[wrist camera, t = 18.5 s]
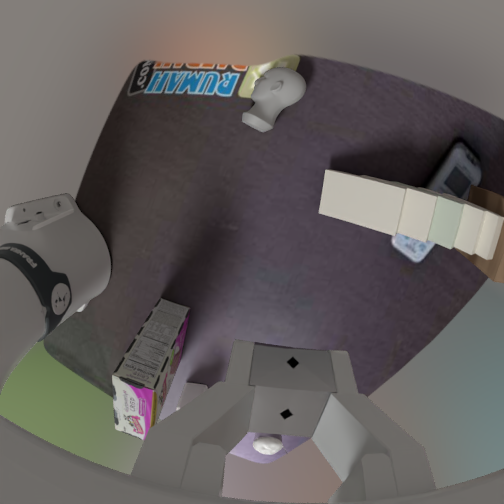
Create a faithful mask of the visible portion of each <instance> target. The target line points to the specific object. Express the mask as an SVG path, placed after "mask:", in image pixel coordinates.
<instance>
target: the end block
mask: <svg viewBox="0 0 504 504" xmlns="http://www.w3.org/2000/svg"><path fill="white" fill-rule="evenodd" d="M468 202H470V203H473V204H475V205H478V206H480V207H482V208H485V209H487V210H489V211H491V212H494V213H496V214H498V215H500V216H503V217H504V196H502V195H499V194H497V193H494V192H492V191H489V190H486V189H483V188H480V187H477V186H474V185H471V188H470V193H469V197H468ZM455 249H456V250H457V251H459V252H460V253H461V254H462V255H463V256H465V257H466V258H467V259H468V260H469V261H471V262H472V263H473V264H474V265H475V266H476V267H478V268H479V269H480V270H481V271H482V272H483V273H485V274H486V275H487V276H488V277H489V278H490V279H491V280H493V281H494V282H500V283H504V221H503V225H502V228H501V232H500V236H499V239H498V242H497V246H496V249H495V252H494V255H493V258H492V259H490V260H486V259H484V258H482V257H481V256H479V255H477V254H473V255H470V254H468V253H466V252H464V251H462V250H459V249H457V248H455Z"/></svg>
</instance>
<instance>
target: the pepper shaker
mask: <svg viewBox="0 0 504 504" xmlns="http://www.w3.org/2000/svg"><path fill="white" fill-rule="evenodd" d="M207 389H208V387H207V385H204V384H196V383H186V384H185V385H184V388H183V391H182V394H181V397H180V399H179V402H178V405H177V408H176V410H179V409H180V408H182V407H183V406H184V405H186V404H187V403H189V402H190V401H192V400H193V399H195V398H196V397H197V396H199V395H200V394H202V393H203V392H205V391H206V390H207Z"/></svg>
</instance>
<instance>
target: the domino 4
mask: <svg viewBox="0 0 504 504" xmlns="http://www.w3.org/2000/svg"><path fill="white" fill-rule="evenodd" d="M418 188H419V189H422V190H425V191H429V192H432V193H435V194H438V195H441V196H444V197H447V198H450V199H452V200H455V201H458V202H461V203H464V204H465V206H464V210H463V215H462V219H461V223H460V226H459V230H458V234H457V237H456V241H455V244H454V247H455V248H457V249H459V250H462V251H464V252H466V253H468V254H470V255H473V254H475V252H476V249H477V246H478V243H479V239H480V236H481V232H482V229H483V225H484V221H485V217H486V213H487V211H486V210H483V209H481V208H478V207H476V206H473V205H470V204H468V203H465V202H463V201H460V200H457V199H454V198H452V197H449V196H446V195H443V194H441V193H438V192H435V191H432V190H429V189H426V188H422V187H418Z"/></svg>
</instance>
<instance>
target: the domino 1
mask: <svg viewBox="0 0 504 504" xmlns="http://www.w3.org/2000/svg"><path fill="white" fill-rule="evenodd" d="M406 192H407V188H405V187H401V186H397V185H394V184H390V183H386V182H382V181H378V180H375V179H371V178H366V177H362V176H358V175H354V174H350V173H345V172H341V171H336V170H332V169H327V170H325V177H324V183H323V190H322V196H321V202H320V208H319V213H320V214H323V215H327V216H330V217H334V218H337V219H341V220H344V221H347V222H351V223H354V224H358V225H361V226H364V227H367V228H371V229H374V230H377V231H380V232H384V233H387V234H390V235H393V236H395V235H396V234H397V232H398V228H399V224H400V220H401V215H402V211H403V206H404V202H405V197H406Z"/></svg>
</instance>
